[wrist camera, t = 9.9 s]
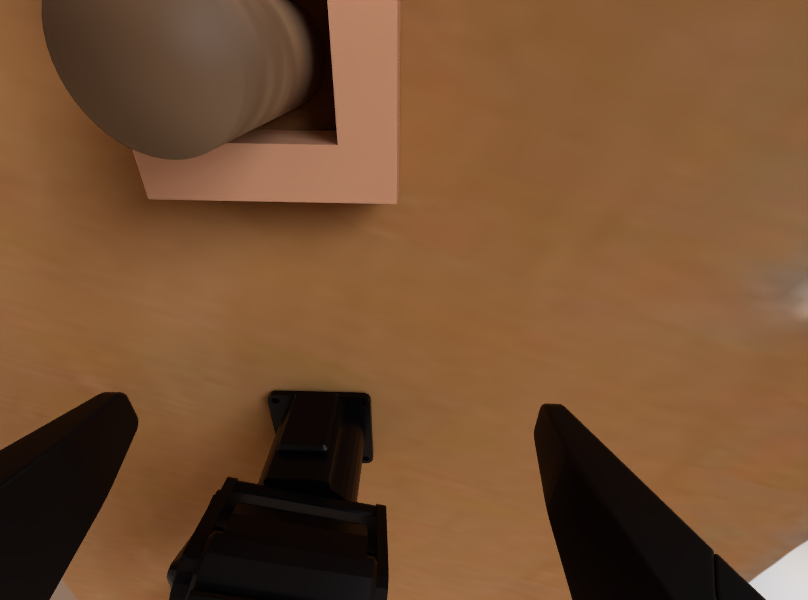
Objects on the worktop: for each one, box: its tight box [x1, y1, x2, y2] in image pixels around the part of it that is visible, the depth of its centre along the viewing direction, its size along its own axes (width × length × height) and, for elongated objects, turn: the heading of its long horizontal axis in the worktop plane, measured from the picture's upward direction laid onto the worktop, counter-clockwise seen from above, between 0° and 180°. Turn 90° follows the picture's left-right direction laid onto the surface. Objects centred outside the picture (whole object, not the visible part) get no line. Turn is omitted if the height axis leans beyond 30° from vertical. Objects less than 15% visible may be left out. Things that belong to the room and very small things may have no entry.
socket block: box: [132, 0, 400, 204], centre depth 15 cm, size 10×10×3 cm
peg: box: [42, 0, 325, 160], centre depth 12 cm, size 4×4×9 cm
